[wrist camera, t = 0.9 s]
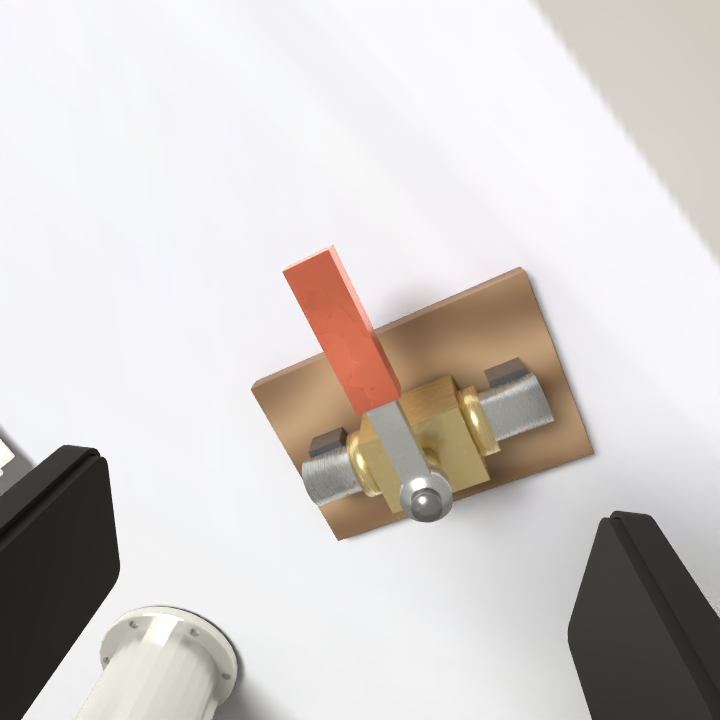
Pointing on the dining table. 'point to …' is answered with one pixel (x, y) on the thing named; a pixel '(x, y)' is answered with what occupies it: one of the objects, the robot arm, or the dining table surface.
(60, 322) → the dining table surface
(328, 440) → the ball valve
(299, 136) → the dining table surface
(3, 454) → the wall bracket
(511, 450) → the base board
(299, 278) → the lever
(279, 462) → the dining table surface
